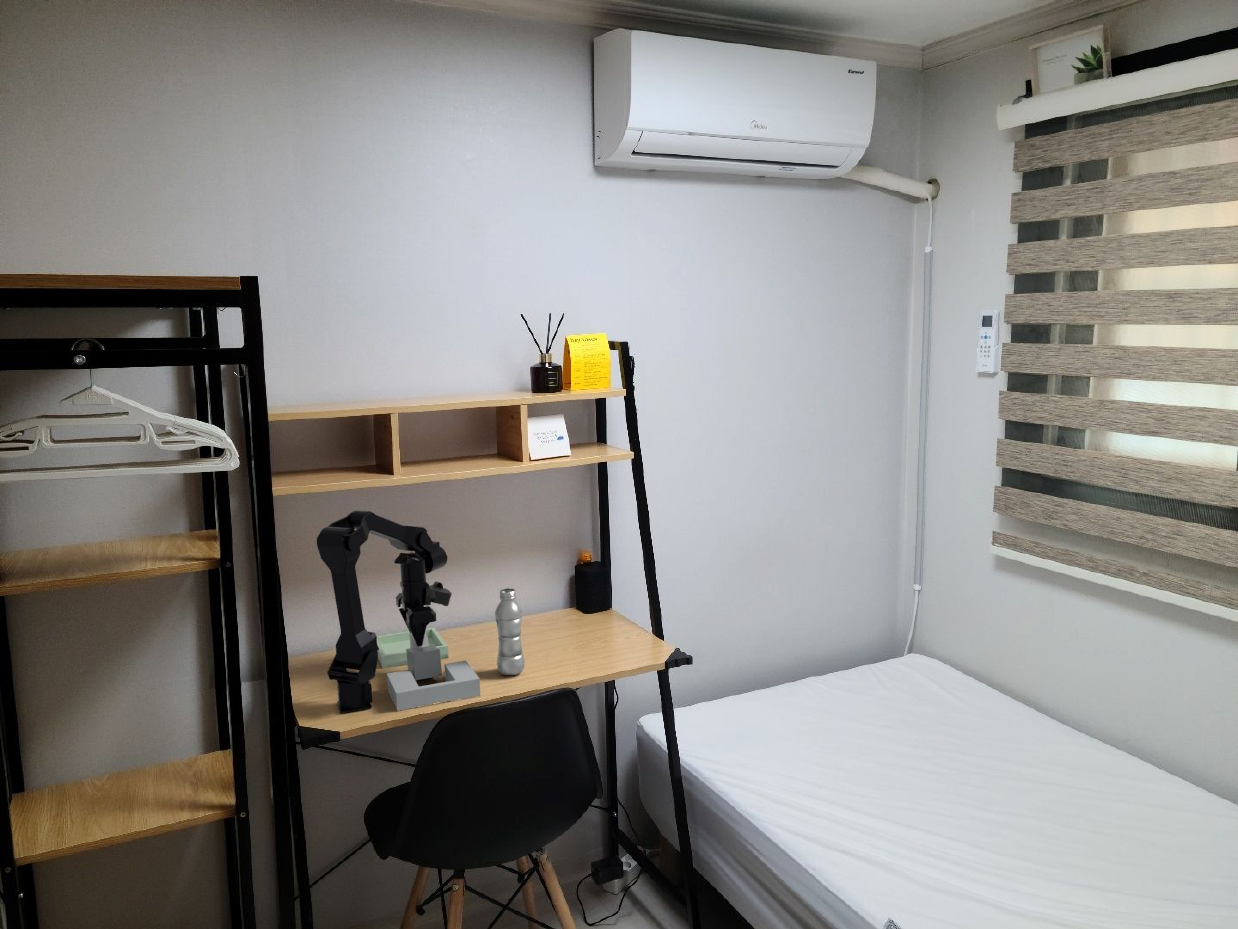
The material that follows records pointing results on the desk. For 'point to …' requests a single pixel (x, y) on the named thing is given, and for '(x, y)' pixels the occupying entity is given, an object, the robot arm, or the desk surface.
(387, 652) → the tray
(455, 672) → the bay housing
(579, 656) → the desk surface
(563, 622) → the desk surface
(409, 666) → the grey block with handle
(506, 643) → the plastic bottle
